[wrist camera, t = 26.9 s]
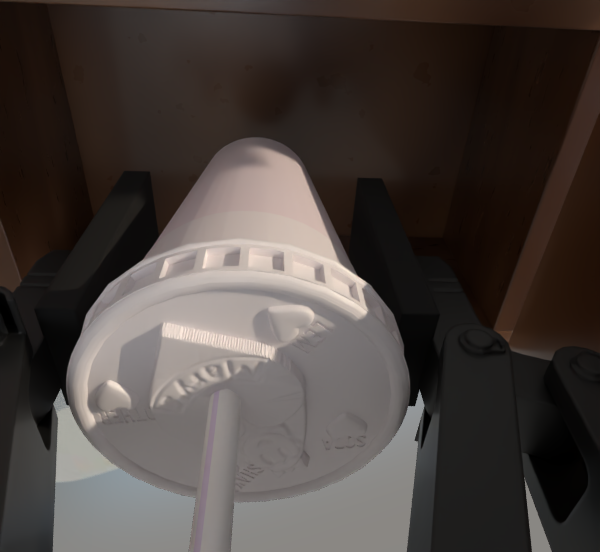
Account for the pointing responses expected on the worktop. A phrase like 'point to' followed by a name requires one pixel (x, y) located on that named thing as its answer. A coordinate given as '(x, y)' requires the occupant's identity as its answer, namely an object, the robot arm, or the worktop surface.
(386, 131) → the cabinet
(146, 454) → the smoothie
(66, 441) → the worktop surface
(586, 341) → the wooden panel
